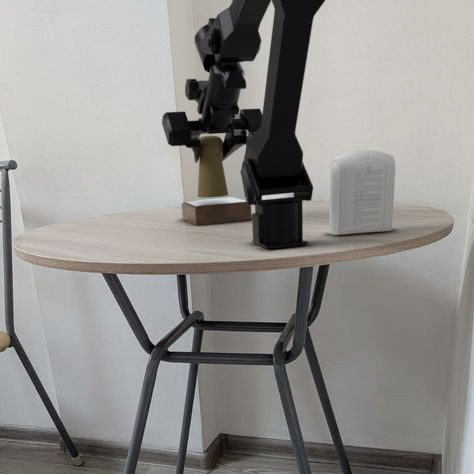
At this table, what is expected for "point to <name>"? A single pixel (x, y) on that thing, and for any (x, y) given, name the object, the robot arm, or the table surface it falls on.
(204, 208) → the block
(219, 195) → the cork
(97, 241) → the table surface
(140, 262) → the table surface
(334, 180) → the white upright block
